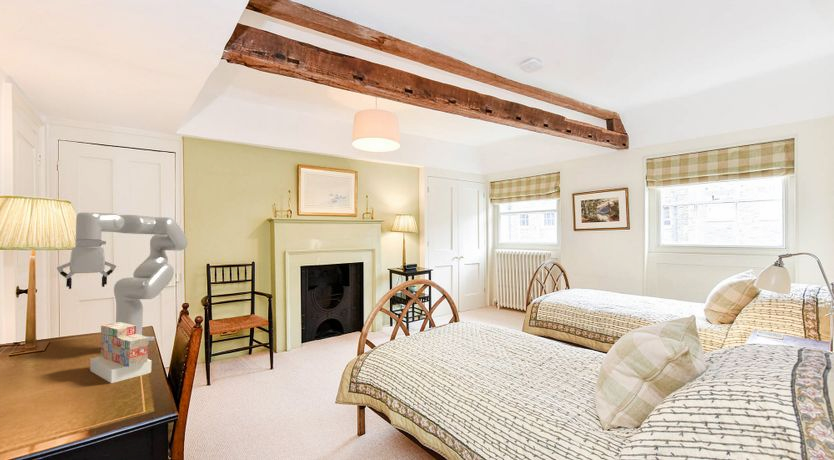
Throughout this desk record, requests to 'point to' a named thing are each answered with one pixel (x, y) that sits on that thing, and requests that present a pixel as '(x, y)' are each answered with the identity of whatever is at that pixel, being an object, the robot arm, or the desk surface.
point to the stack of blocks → (123, 344)
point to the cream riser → (117, 369)
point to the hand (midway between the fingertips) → (86, 287)
